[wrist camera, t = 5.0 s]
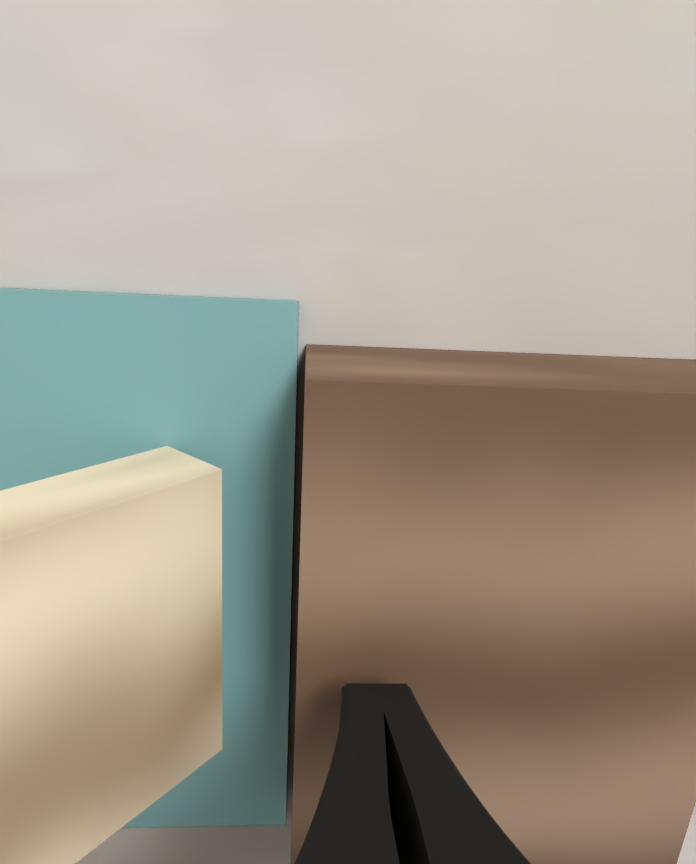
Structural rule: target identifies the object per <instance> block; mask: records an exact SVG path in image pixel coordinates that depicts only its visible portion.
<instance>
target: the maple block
mask: <svg viewBox="0 0 696 864" xmlns="http://www.w3.org/2000/svg"><path fill="white" fill-rule="evenodd" d="M221 750H222V469H220V468H218V467H216V466H213V465H211V464H209V463H206V462H204V461H202V460H199V459H197V458H195V457H192V456H190V455H188V454H185V453H183V452H181V451H178V450H176V449H174V448H171V447H169V446H165V447H161V448H157V449H154V450H150V451H146V452H142V453H139V454H135V455H131V456H128V457H124V458H120V459H116V460H113V461H109V462H105V463H101V464H98V465H94V466H90V467H87V468H83V469H79V470H75V471H72V472H68V473H64V474H61V475H57V476H53V477H49V478H46V479H42V480H38V481H35V482H31V483H27V484H23V485H20V486H16V487H12V488H8V489H5V490H1V491H0V864H75V863H77V862H78V861H79V860H81V859H82V858H83V857H84V856H86V855H87V854H88V853H90V852H91V851H92V850H94V849H95V848H96V847H97V846H99V845H100V844H101V843H103V842H104V841H105V840H106V839H108V838H109V837H110V836H112V835H113V834H114V833H115V832H117V831H118V830H119V829H121V828H122V827H123V826H124V825H126V824H127V823H128V822H130V821H131V820H132V819H133V818H135V817H136V816H137V815H139V814H140V813H141V812H142V811H144V810H145V809H146V808H148V807H149V806H150V805H151V804H153V803H154V802H155V801H157V800H158V799H159V798H160V797H162V796H163V795H164V794H166V793H167V792H168V791H169V790H171V789H172V788H173V787H175V786H176V785H177V784H178V783H180V782H181V781H182V780H184V779H185V778H186V777H187V776H189V775H190V774H191V773H193V772H194V771H195V770H196V769H198V768H199V767H200V766H202V765H203V764H204V763H205V762H207V761H208V760H209V759H211V758H212V757H213V756H214V755H216V754H217V753H218V752H220V751H221Z"/></svg>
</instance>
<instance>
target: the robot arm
mask: <svg viewBox="0 0 696 864" xmlns="http://www.w3.org/2000/svg"><path fill="white" fill-rule="evenodd" d="M294 864H531V863H530V862H529V861H528V860H527V859H526V857H525V856H524V855H523V854H522V853H521V852H520V851H519V849H518V848H517V847H516V846H515V845H514V843H513V842H512V841H511V840H510V839H509V837H508V836H507V835H506V834H505V833H504V831H503V830H502V829H501V828H500V826H499V825H498V824H497V823H496V821H495V820H494V819H493V818H492V816H491V815H490V814H489V812H488V811H487V810H486V808H485V807H484V806H483V804H482V803H481V802H480V800H479V799H478V798H477V796H476V795H475V793H474V792H473V791H472V789H471V788H470V786H469V785H468V784H467V782H466V781H465V779H464V778H463V776H462V775H461V773H460V772H459V770H458V769H457V767H456V766H455V764H454V763H453V761H452V760H451V758H450V757H449V755H448V754H447V752H446V750H445V749H444V747H443V746H442V744H441V742H440V741H439V739H438V738H437V736H436V734H435V732H434V731H433V729H432V727H431V726H430V724H429V722H428V720H427V719H426V717H425V715H424V713H423V711H422V710H421V708H420V706H419V704H418V702H417V700H416V698H415V696H414V694H413V692H412V690H411V688H410V687H409V686H408V685H407V684H393V683H347V684H346V685H345V686H344V687H342V691H341V707H340V723H339V731H338V737H337V741H336V745H335V749H334V753H333V757H332V761H331V765H330V769H329V772H328V775H327V778H326V781H325V785H324V788H323V791H322V794H321V797H320V800H319V803H318V806H317V809H316V812H315V814H314V817H313V820H312V822H311V825H310V828H309V830H308V833H307V835H306V838H305V840H304V842H303V845H302V847H301V850H300V852H299V854H298V857H297V859H296V861H295V863H294Z"/></svg>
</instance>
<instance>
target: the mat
mask: <svg viewBox="0 0 696 864" xmlns="http://www.w3.org/2000/svg"><path fill="white" fill-rule="evenodd" d="M298 309H299V301H285V300H262V299H240V298H218V297H196V296H173V295H151V294H129V293H106V292H84V291H62V290H39V289H17V288H0V491H1V490H5V489H8V488H12V487H16V486H20V485H23V484H27V483H31V482H35V481H38V480H42V479H46V478H49V477H53V476H57V475H61V474H64V473H68V472H72V471H75V470H79V469H83V468H87V467H90V466H94V465H98V464H101V463H105V462H109V461H113V460H116V459H120V458H124V457H128V456H131V455H135V454H139V453H142V452H146V451H150V450H154V449H157V448H161V447H165V446H169V447H171V448H174V449H176V450H178V451H181V452H183V453H185V454H188V455H190V456H192V457H195V458H197V459H199V460H202V461H204V462H206V463H209V464H211V465H213V466H216V467H218V468H220V469H222V750H221V751H220V752H218V753H217V754H216V755H214V756H213V757H212V758H211V759H209V760H208V761H207V762H205V763H204V764H203V765H202V766H200V767H199V768H198V769H196V770H195V771H194V772H193V773H191V774H190V775H189V776H187V777H186V778H185V779H184V780H182V781H181V782H180V783H178V784H177V785H176V786H175V787H173V788H172V789H171V790H169V791H168V792H167V793H166V794H164V795H163V796H162V797H160V798H159V799H158V800H157V801H155V802H154V803H153V804H151V805H150V806H149V807H148V808H146V809H145V810H144V811H142V812H141V813H140V814H139V815H137V816H136V817H135V818H133V819H132V820H131V821H130V822H128V823H127V824H126V825H124V826H123V827H122V828H139V827H196V826H254V825H286V796H287V756H288V715H289V674H290V634H291V593H292V553H293V512H294V472H295V431H296V390H297V350H298Z"/></svg>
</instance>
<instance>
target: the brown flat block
mask: <svg viewBox="0 0 696 864" xmlns="http://www.w3.org/2000/svg"><path fill="white" fill-rule="evenodd" d="M347 683H393V684H407V685H408V686H409V687H410V688H411V690H412V692H413V694H414V696H415V698H416V700H417V702H418V704H419V706H420V708H421V710H422V711H423V713H424V715H425V717H426V719H427V720H428V722H429V724H430V726H431V727H432V729H433V731H434V732H435V734H436V736H437V738H438V739H439V741H440V742H441V744H442V746H443V747H444V749H445V750H446V752H447V754H448V755H449V757H450V758H451V760H452V761H453V763H454V764H455V766H456V767H457V769H458V770H459V772H460V773H461V775H462V776H463V778H464V779H465V781H466V782H467V784H468V785H469V786H470V788H471V789H472V791H473V792H474V793H475V795H476V796H477V798H478V799H479V800H480V802H481V803H482V804H483V806H484V807H485V808H486V810H487V811H488V812H489V814H490V815H491V816H492V818H493V819H494V820H495V821H496V823H497V824H498V825H499V826H500V828H501V829H502V830H503V831H504V833H505V834H506V835H507V836H508V837H509V839H510V840H511V841H512V842H513V843H514V845H515V846H516V847H517V848H518V849H519V851H520V852H521V853H522V854H523V855H524V856H525V857H526V859H527V860H528V861H529V862H530V863H531V864H676V863H677V860H678V857H679V854H680V851H681V847H682V844H683V841H684V838H685V835H686V831H687V828H688V825H689V822H690V818H691V815H692V812H693V809H694V806H695V802H696V360H686V359H661V358H636V357H611V356H585V355H560V354H535V353H510V352H485V351H460V350H434V349H409V348H384V347H359V346H334V345H309V344H306V362H305V393H304V427H303V462H302V496H301V531H300V565H299V600H298V634H297V669H296V703H295V737H294V772H293V806H292V841H291V864H294V863H295V861H296V859H297V857H298V854H299V852H300V850H301V847H302V845H303V842H304V840H305V838H306V835H307V833H308V830H309V828H310V825H311V822H312V820H313V817H314V814H315V812H316V809H317V806H318V803H319V800H320V797H321V794H322V791H323V788H324V785H325V781H326V778H327V775H328V772H329V769H330V765H331V761H332V757H333V753H334V749H335V745H336V741H337V737H338V731H339V723H340V707H341V691H342V687H344V686H345V685H346V684H347Z"/></svg>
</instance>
